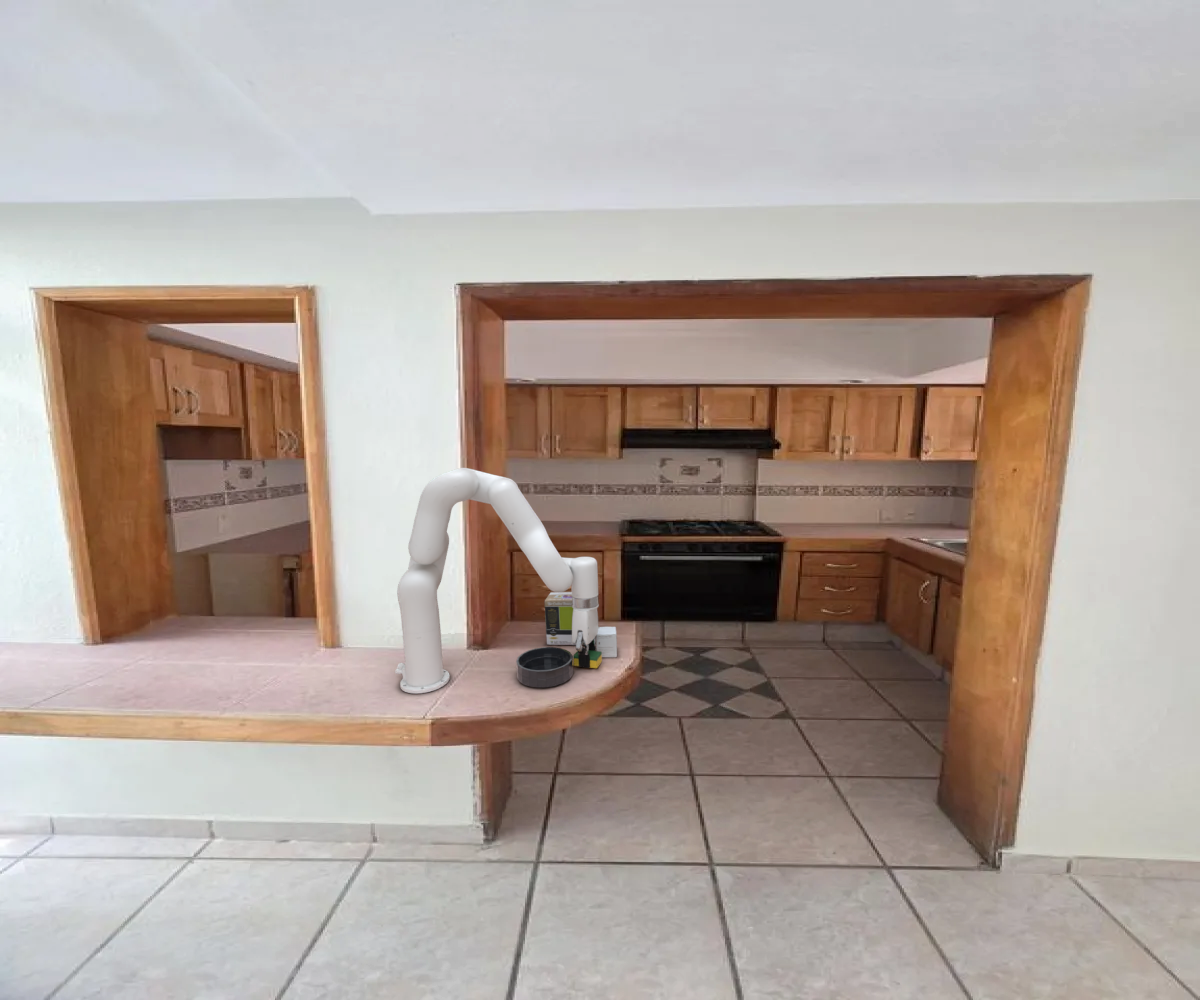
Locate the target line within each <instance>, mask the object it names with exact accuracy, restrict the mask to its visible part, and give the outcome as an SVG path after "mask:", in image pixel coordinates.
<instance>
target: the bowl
mask: <svg viewBox="0 0 1200 1000" xmlns="http://www.w3.org/2000/svg"><path fill="white" fill-rule="evenodd" d="M515 664H516V665H515V667H516V679H517V681H518V682H520V683H521V684H522V685H524V686H528V687H531V688H540V689H541V688H551V687H556V686H559V685H561V684H564V683H565V682H567V681H569V680H570V679H571V678H572V677H573V675H574V660H573V654H572V652H570V651H569V650H568V649H565V648H561V647H556V646H544V647H543V646H541V647H537V648H536V647H535V648H532V649H528V650H526V651H524V652H522V653H521V654H519V655H518V657H517V658H516V661H515Z"/></svg>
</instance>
